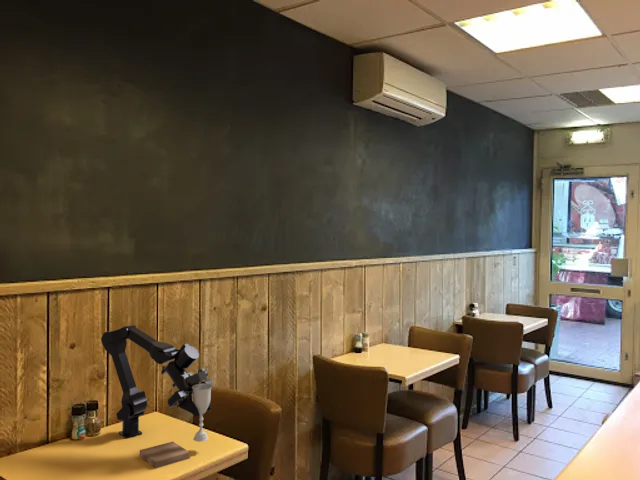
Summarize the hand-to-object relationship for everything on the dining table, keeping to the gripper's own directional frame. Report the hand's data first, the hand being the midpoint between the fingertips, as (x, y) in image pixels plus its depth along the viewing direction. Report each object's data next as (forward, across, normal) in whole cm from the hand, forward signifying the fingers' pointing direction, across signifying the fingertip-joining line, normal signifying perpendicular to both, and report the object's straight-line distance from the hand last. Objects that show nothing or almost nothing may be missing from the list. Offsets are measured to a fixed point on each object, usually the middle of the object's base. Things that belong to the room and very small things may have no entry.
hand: (204, 413), depth 187 cm
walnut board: (+4, -10, +15) cm, 19 cm away
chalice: (+6, 0, +8) cm, 9 cm away
